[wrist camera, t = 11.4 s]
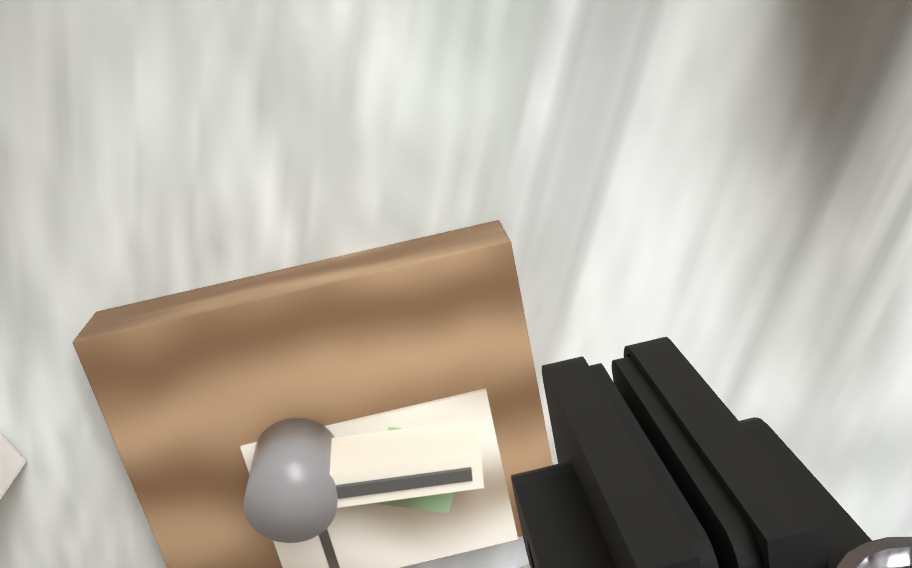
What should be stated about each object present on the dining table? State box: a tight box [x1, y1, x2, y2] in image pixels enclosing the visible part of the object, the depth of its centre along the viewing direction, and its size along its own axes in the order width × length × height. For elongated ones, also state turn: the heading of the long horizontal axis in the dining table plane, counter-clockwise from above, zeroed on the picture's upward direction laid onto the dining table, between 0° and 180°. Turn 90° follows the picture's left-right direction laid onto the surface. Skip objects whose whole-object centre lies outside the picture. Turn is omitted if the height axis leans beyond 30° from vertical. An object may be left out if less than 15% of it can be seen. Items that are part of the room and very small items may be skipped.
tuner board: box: [73, 220, 553, 568], centre depth 41 cm, size 16×20×4 cm
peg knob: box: [244, 418, 484, 543], centre depth 38 cm, size 10×4×4 cm, turn 95°
